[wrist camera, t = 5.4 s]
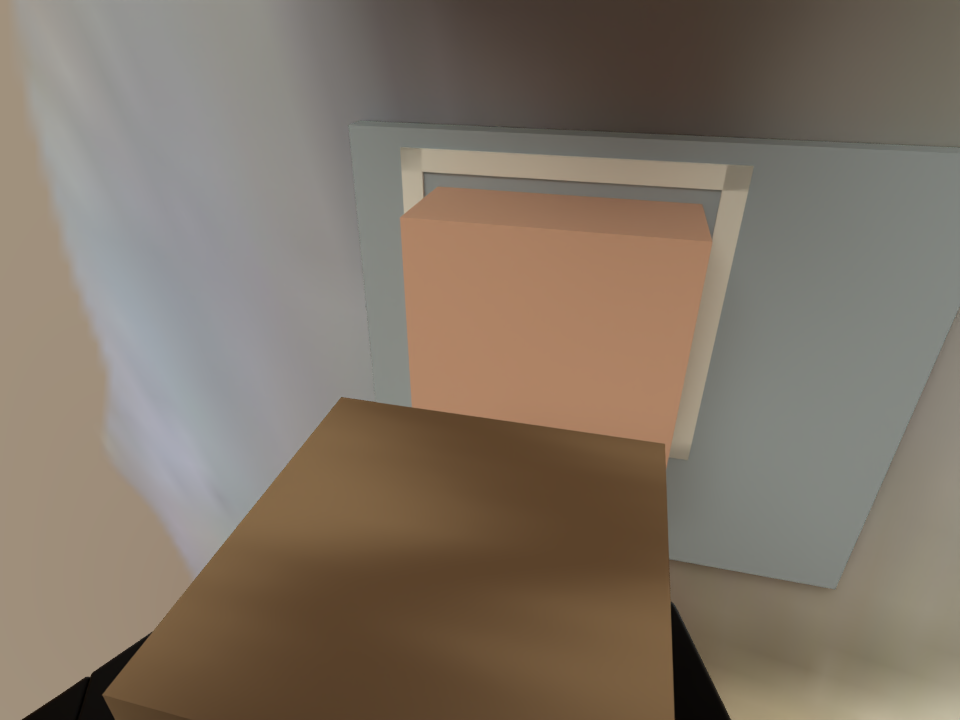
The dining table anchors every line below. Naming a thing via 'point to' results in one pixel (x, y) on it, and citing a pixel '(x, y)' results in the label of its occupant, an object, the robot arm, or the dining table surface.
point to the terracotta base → (553, 308)
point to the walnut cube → (428, 582)
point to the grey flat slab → (731, 310)
